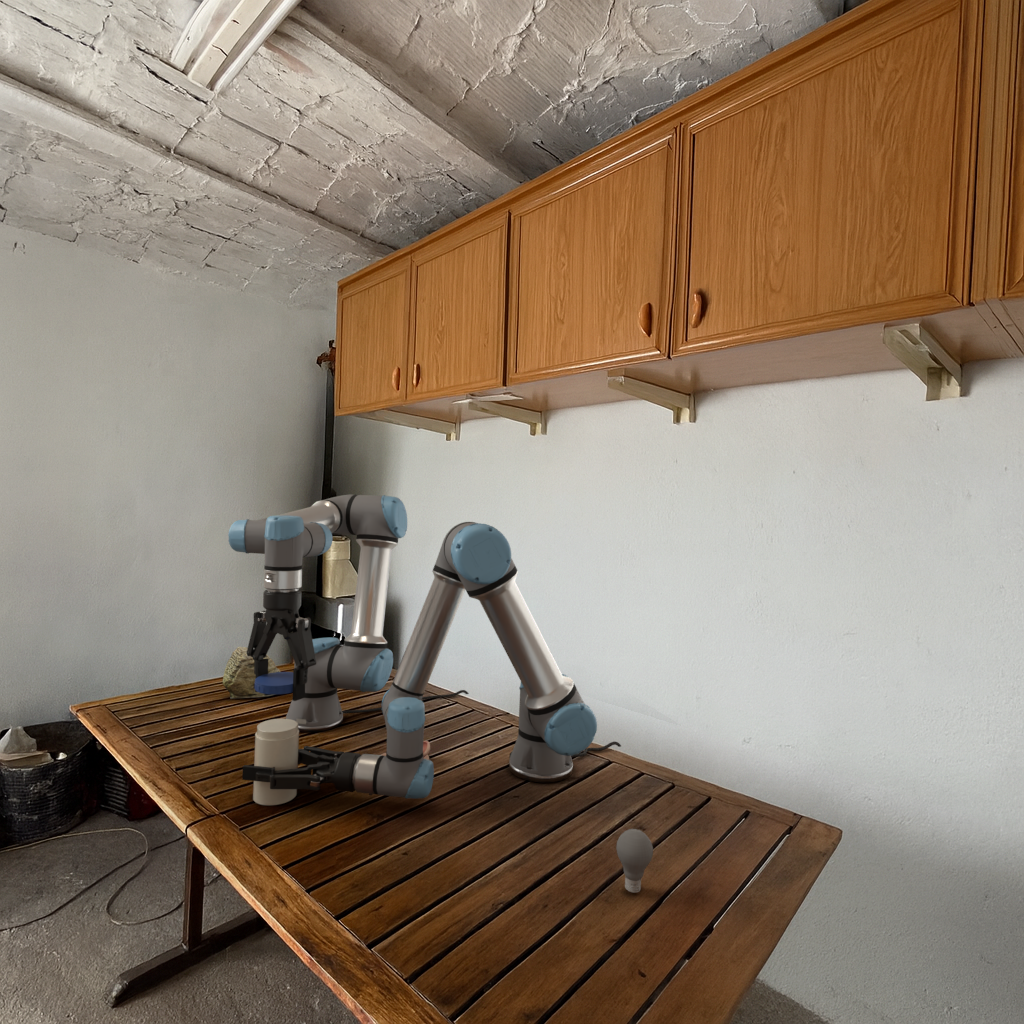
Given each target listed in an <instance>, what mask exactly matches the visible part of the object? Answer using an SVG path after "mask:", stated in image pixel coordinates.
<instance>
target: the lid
mask: <svg viewBox="0 0 1024 1024" xmlns="http://www.w3.org/2000/svg"><path fill="white" fill-rule="evenodd" d="M254 689H255V691H257V692H259V693H263V694H273V695H272V696H275V695H287V694H291V693H292V694H293V671H280V672H275V673H268V674H264V675H261V676H259V677H257V678H256V679H255V683H254Z"/></svg>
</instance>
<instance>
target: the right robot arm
mask: <svg viewBox="0 0 1024 1024" xmlns="http://www.w3.org/2000/svg"><path fill="white" fill-rule="evenodd" d="M431 572H432V574H433V577H434V578H433V580H432V583H431V585H430V588H429V590H428V593H427V595H426V597H425V600H424V603H423V605H422V608H421V611H420V612H419V615H418V618H417V621H416V623H415V625H414V628H413V630H412V632H411V635H410V638H409V640H408V643H407V645H406V648H405V650H404V651H403V655H402V658H401V660H400V663H399V665H398V667H397V670H396V671H395V675H394V677H393V680H392V683H391V685H390V687H389V689H388V690H386V692H385V693H384V694H383V697H382V698H381V699H382V700H381V707H382V710H381V713H382V715H383V720H384V724H385V728H386V750H385V751H386V752H385V753H386V756H383V755H381V754H374V753H372V754H371V753H362V754H361V753H359V752H358V753H357V752H348V751H346V752H345V751H338V750H337V751H335V750H329V749H325V748H319V747H315V746H309V745H304V746H303V748H299V749H298V766H299V765H301V764H302V765H304V766H306V767H298V768H296V769H285V770H275V767H273V768H270V767H260V766H254V765H248V764H244V765H242V776H241V777H242V779H241V780H242V781H252V782H254V781H261V782H270V789H297V790H311V791H316V792H317V791H320V790H321V786H322V785H323V784H333V785H334V788H335V790H336V791H338V792H345V793H354V792H356V793H359V794H368V795H369V796H373V795H375V796H376V795H378V796H387V797H396V798H403V799H415V800H419V799H426V798H427V797H428V796H429V795H430V793H431V791H432V788H433V784H434V777H435V769H434V766H435V765H434V762H433V761H432V760H430V759H429V760H427V759H423V741H424V738H425V737H424V736H425V722H426V714H425V713H426V710H425V703H424V701H423V700H422V697H424V695H425V692H426V689H427V687H428V684H429V681H430V679H431V677H432V673H433V672H434V669H435V666H436V664H437V661H438V659H439V657H440V654H441V652H442V649H443V646H444V644H445V642H446V639H447V636H448V634H449V632H450V629H451V627H452V623H453V621H454V619H455V616H456V615H457V612H458V609H459V606H460V603H461V602H462V599H463V596H464V594H465V592H466V594H467V595H468V597H469V598H470V599H474V600H476V601H477V600H478V602H479V603H480V605H481V607H482V609H483V610H484V612H485V614H486V616H487V618H488V621H489V622H490V624H491V627H492V628H493V630H494V632H495V634H496V636H497V638H498V640H499V642H500V643H501V645H502V647H503V650H504V652H505V654H506V655H507V657H508V659H509V661H510V663H511V665H512V667H513V669H514V671H515V672H516V675H517V676H518V678H519V681H520V686H519V689H518V690H519V704H518V705H519V706H518V707H519V708H518V711H519V712H518V732H517V738H516V740H515V743H514V746H513V748H512V750H511V752H510V753H509V757H508V759H509V761H508V762H509V764H508V769H509V771H510V772H511V773H512V774H513V775H514V776H516V777H517V778H519V779H522V780H525V781H529V782H534V783H542V784H543V783H545V784H546V783H557V782H561V781H565V780H566V779H568V778H570V777H571V776H572V774H573V773H574V772H573V771H574V770H573V769H574V763H573V759H572V758H583V757H585V756H586V755H587V753H589V752H601V751H606V750H607V749H609V748H610V747H612V746H617V747H619V748H621V747H622V745H621V743H620V742H618V741H611V742H609V743H608V744H606V745H603V746H600V747H589V746H590V745H591V744H592V742H593V741H594V740H595V736H596V734H597V730H598V721H597V717H596V715H595V713H594V711H593V709H592V708H591V707H590V706H589V705H587V704H586V703H585V701H584V700H583V698H582V696H581V694H580V692H579V690H578V688H577V686H576V685H575V682H574V681H573V679H572V677H569V676H568V675H567V674H564V673H562V672H561V670H560V668H559V666H558V664H557V661H556V660H555V658H554V656H553V654H552V652H551V649H550V648H549V646H548V644H547V642H546V640H545V637H544V636H543V634H542V632H541V630H540V628H539V625H538V624H537V622H536V620H535V618H534V616H533V614H532V611H531V610H530V608H529V606H528V604H527V602H526V600H525V598H524V596H523V594H522V593H521V590H520V588H519V586H518V585H517V582H516V580H517V577H518V573H519V570H518V568H517V567H516V564H515V562H514V560H513V558H512V548H511V546H510V543H509V541H508V539H507V538H506V536H505V534H503V533H502V532H501V531H500V530H498V529H497V528H496V527H495V526H493V525H490V524H488V523H487V524H486V523H478V522H474V521H464V522H460V523H458V524H456V525H454V526H453V527H451V528H450V530H448V532H447V533H446V535H445V536H444V538H443V541H442V543H441V546H440V548H439V552H438V555H437V557H436V560H435V563H434V565H433V568H432V571H431Z"/></svg>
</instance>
